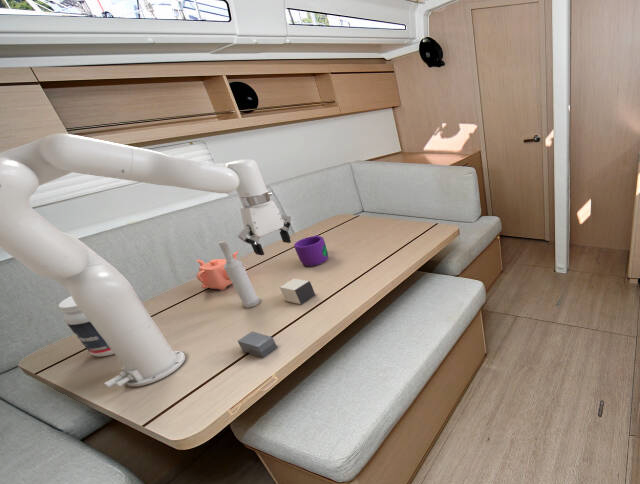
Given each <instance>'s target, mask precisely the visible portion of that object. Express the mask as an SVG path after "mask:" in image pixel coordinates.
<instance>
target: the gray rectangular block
mask: <svg viewBox="0 0 640 484" xmlns="http://www.w3.org/2000/svg"><path fill="white" fill-rule="evenodd" d="M237 343H238V345H239V346H240V348H241V350H242V352H244V353H248V354H250V355H254V356H256V357H260V358H266V357H267V356H268V355H270V354H271V353H272V352H273V351H275V350H276V349H278V345H277V343H276V341H275V339H274V337H273V336H271V335H266V334H262V333H260V332H256V331H250V332H249V333H247V334H245V335H244V336H243V337H241V338H240V339H237Z"/></svg>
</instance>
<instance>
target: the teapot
mask: <svg viewBox="0 0 640 484" xmlns="http://www.w3.org/2000/svg"><path fill="white" fill-rule="evenodd" d="M239 252H240V251H238V250H236V251H235V252H233V254H232V256H233V258H235V259H236V260H238V258H237V257H238V253H239ZM195 261H196V262H197V263H198V264H199V267H198V273H197V274H196V279H197V280H198V281H199V282H201V288H203V289H207V288H209V289H214V290H215V289H216V290H219V291H223V290H225V289H227V287H228V286H231V285H233V284H232V282H231V280H230V278H229V276H228V274H227V272H226V271H225V269H224V265H225V264H226V261H227V260H226V258H215V259H210V260H209V261H208V262H207V263H205V261H204V260H202V259H195Z"/></svg>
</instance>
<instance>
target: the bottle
mask: <svg viewBox="0 0 640 484" xmlns="http://www.w3.org/2000/svg"><path fill="white" fill-rule="evenodd" d="M217 244H218V245H219V248H220V250H221V251H222V253H223V255H224V257H225V258H224V259H226V260H227V261H226V264H225V265H224V269H225V271H226V272H227V274H228V276H229V278H230V280H231V282H232V284H231V285H232V286H233V288H234V290H235V291H236V293H237V295H238V297H239V299H240V301H241V302H240V303H241V305H242V306H243V308H245V309H249V308H253V307H255V306H257V305H258V304H260V302H261V301H260V298H259V295H257V293H256V291H255V289H254V287H253V284H252V282H251V280H250V278H249V275H248V273H247V270H246V268H245V266H244V264H243V261H242V260H239V259H237V260H236V259H235V258H233V256H232V255H233V254H232V252H231V249H230V247H229V245H228V243H227V241H226V240H221V241H218V242H217Z"/></svg>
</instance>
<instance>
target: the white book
mask: <svg viewBox="0 0 640 484" xmlns="http://www.w3.org/2000/svg"><path fill="white" fill-rule="evenodd" d="M311 286H312V287H313V285H312V283H311V280H304V279H299V278H293V279H291V280H289V281H287V282H286V283H284V284H283V285H281V286H279V290H280V291H281V293H282V292H285V293H290V294H295V295H299V294H300V293H302V292H303V291H305V290H306V289H308V288H310V287H311Z"/></svg>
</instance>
